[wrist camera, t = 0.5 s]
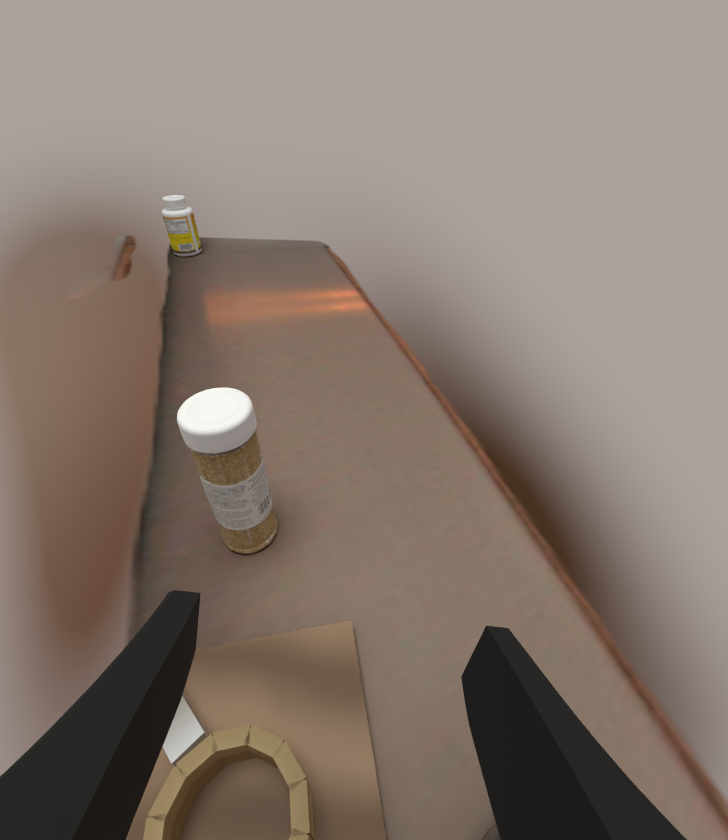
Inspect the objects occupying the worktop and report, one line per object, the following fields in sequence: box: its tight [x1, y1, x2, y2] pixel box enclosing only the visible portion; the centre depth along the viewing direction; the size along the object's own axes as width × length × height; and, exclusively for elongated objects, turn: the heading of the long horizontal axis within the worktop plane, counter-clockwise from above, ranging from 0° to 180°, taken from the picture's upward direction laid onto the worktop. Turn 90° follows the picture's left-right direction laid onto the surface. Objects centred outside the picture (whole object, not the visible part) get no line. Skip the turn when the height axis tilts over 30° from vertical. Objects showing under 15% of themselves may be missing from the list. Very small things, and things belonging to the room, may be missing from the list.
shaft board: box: [126, 620, 387, 840], centre depth 19 cm, size 18×14×4 cm
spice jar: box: [177, 388, 278, 554], centre depth 30 cm, size 5×5×13 cm
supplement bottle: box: [162, 195, 202, 257], centre depth 81 cm, size 6×6×10 cm
